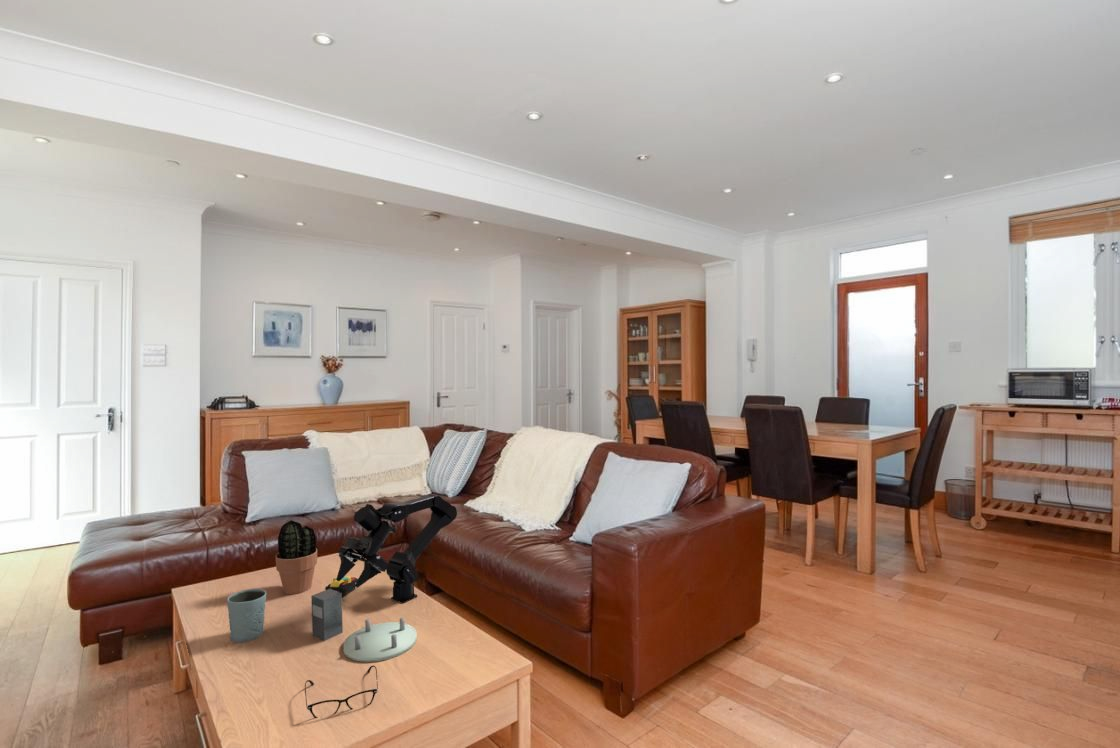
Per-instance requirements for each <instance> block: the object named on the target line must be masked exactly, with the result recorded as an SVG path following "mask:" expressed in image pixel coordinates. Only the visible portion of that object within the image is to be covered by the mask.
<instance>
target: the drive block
mask: <svg viewBox="0 0 1120 748" xmlns="http://www.w3.org/2000/svg"><path fill="white" fill-rule="evenodd" d="M310 597H311V598H310V599H311V628H312V629H311V630H312V632H311V634H312V637H315V638H316V639H319V640H321V641H323V642H325V641H328V640H330V639H333V638H334V637H336V636H338V635H340V634H342V633H343V629H344V628H343V596H342V593H340V592H338V591H335V590H332V589H327V590H325V589H324V590H322V591H319V592H318V593H315V594H313V595H311V596H310Z"/></svg>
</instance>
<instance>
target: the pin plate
mask: <svg viewBox="0 0 1120 748" xmlns="http://www.w3.org/2000/svg"><path fill="white" fill-rule="evenodd" d="M364 622H365V624H364V625H365V627H363V628H362V627H361V628H360V629H358V630H356V631H354V632H352V633H351V634H350V635H349V636H348V637H347V638H346V639H345V640H344V642H343V654H344V655H345V656H346V657H347V658H348V659H350V660H353V661H355V662H361V663H374V662H381V661H382V662H383V661H386V660H390V659H393V658H396V657H398V656H401V655H404V653H406V652H408V651H409V650H411V648H413V646H414V645H415V644H416V642H417V637H418V636H417V630H416V629H415V628H414V626H411V625H409V624H408V623H405V622H406V621H405V617H400V618H399V622H398V621H397V622H395V621H393V622H391V621H390V622H380V623H375V624H371V619H370V618H369V619H365V621H364Z"/></svg>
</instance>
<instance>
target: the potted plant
mask: <svg viewBox="0 0 1120 748" xmlns="http://www.w3.org/2000/svg"><path fill="white" fill-rule="evenodd" d="M277 549H278V550H277V551H278V552H277V553H276V554H275V566H276V567H275V568H276V571H277V572H278V574H279V577H280V581H281V585H282V590H283V592H284V593H285V594H288V595H297V594H301V593H305V592H306V591H308V590H310V589H311V588H312V584H313V579H314V572H315V567H316V565H317V564H318V548H317V536H316V533H315V531H314V528H312V527H310V526H308V525H305V526H303V527H302V524H301V523H300V522H297V521H294V520H292V519H291V520H289V521H287V522H286V523H284V524H282V526H281V527H280V531H279V533H278V537H277Z"/></svg>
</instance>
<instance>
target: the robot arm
mask: <svg viewBox="0 0 1120 748" xmlns="http://www.w3.org/2000/svg"><path fill="white" fill-rule="evenodd" d="M426 509H429V510H430V511H431V513H430V519H429V521H428V523H427V524H426V525H425V526H424V528H422V530H421V531H420V532H419V533H418V534H417V535H416V537H415V538H414V539H413V540H412V542H411V543H410V544H409V545H408V546H407V548H406V549H404V551H402V552H401V551H396V552H394V553H393V555H392V557H391V558H389V559H388V561H387V560H386V559H384V558H383V557H382V556H380V555H378V552H379V550H382V551H383V549H384V547H385V546H384V545H383V544H384V542H385V541H386V539H387V537H388V536H389V535H390V533H391V534H397V530H396V525H395V524H396V523H400V522H402V521H403V520H405V519H406V518H407V517H408V516H409V515H411V514H414V513H417V512H421V511H425V510H426ZM457 510H458V509H457V508H456V506H455V505H452V504H451V503H449V502H448V501H447V500H445V499H443V497H441V496H440V495H439V494H435V493H428V494H427V495H424V496H421V497H418V498H413V499H410V500H407V501H404V502H402V501H399V502H386V503H383V504H382V505H381V507H378V508H375V507H374V506H373V504H371V503H367V504H366V505H365V506H363V507H361V508H359V510H356V512H355V513H354V515H353V521H354V522H355V523H356V524H357V525H358V526H360V527H361V528H362V529H363V530H365V531H366V532H368V533H367V535H362V536H360V537H359V538H357V537H353V536H352V537H351V536H346V537H347V538H346V540H345V542H344V545H343V546H340V547H339V549H338V551H337V552H336V553H337V554H338V557H339V558H340V559H339V560H340V564H339V569H338V572H337V579H336V580H337V581H340V580H341V579H342V578H343V577H344V576H347V574H348V573H350V571H351V570H352V569H353V568H354V567H355V566H356V562H358V561H359V562H363V570H362V571H361V573H360V575H359V577H358V578H357V579H358V580H357V582H356V584H355V589H356V588H359V587H362V585H364V584H365V583H366V582H367V581H369V580H371V579H372V578H374V577H375V576H377V575H378V574H382V572H384V573H386V575H387V576H388V577H389V580H390V581H393V587H392V596H391V597H390V600H392V601H395V602H399V603H401V604H404V603H406V602H409V601H411V600H413V599H415V598H416V597H418V594H417V593H415V582H417V581H418V578H419V573H418V572H417V571H416V570H415V568H416V561H417V559H418V558H419V557H420V555H421V554H422V553H423V552H424V551H425V549H426V548H427V547H428V546H429V544H430V543H431V542H432V540H433V539H434V538H435V537H436V535H437V534H438V533H439V531H441V529H443V528H445V527H447V526H450V524H452V522H454V521H455V520H456V518H457V516H458V511H457ZM390 522H392V523H395V524H392V523H390Z"/></svg>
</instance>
